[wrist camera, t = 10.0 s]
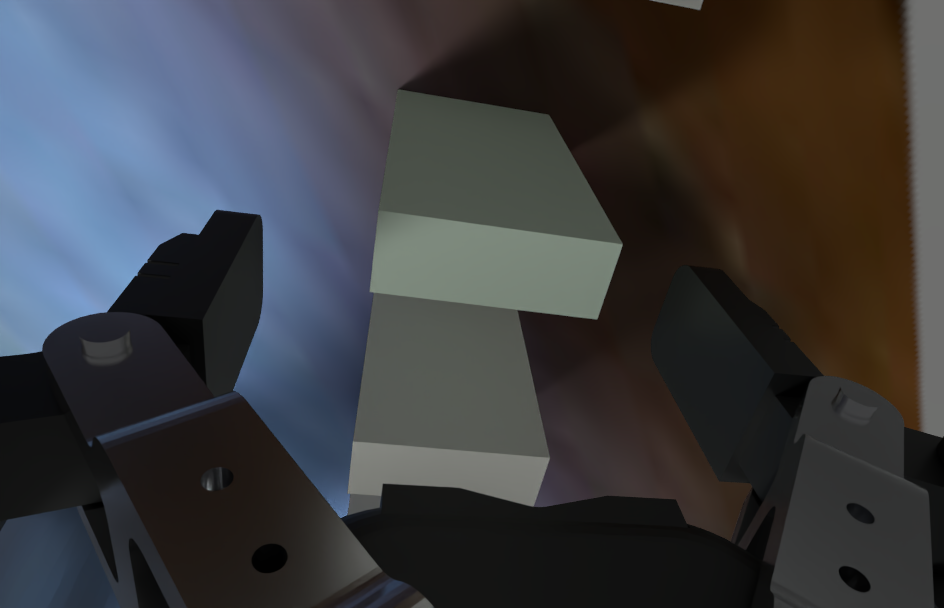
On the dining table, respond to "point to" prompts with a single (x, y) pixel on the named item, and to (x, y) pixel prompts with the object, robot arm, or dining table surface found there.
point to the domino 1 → (489, 212)
